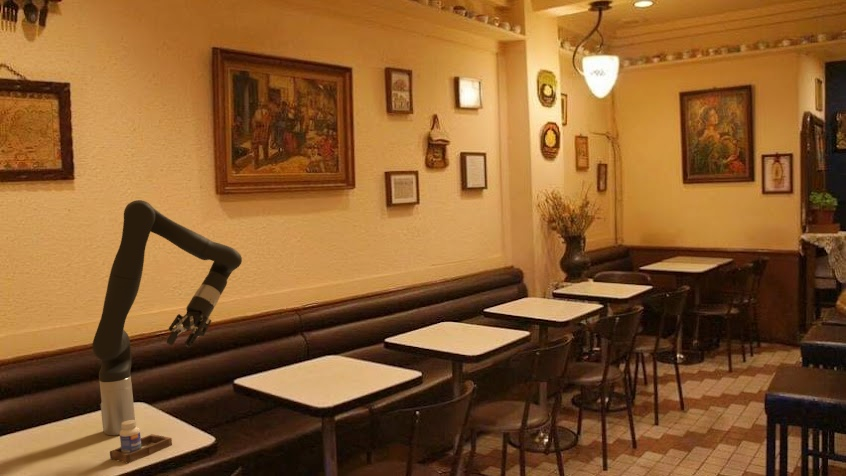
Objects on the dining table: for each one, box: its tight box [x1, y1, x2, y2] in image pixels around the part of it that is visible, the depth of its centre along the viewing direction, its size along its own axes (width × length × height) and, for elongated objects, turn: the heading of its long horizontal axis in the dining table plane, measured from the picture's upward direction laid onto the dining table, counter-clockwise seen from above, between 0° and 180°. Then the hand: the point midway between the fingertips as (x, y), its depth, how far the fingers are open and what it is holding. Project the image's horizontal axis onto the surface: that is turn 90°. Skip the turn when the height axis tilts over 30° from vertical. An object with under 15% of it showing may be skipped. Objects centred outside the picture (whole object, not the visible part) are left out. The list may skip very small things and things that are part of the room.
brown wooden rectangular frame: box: [109, 433, 173, 464], centre depth 205 cm, size 9×15×2 cm, turn 149°
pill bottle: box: [119, 419, 143, 454], centre depth 202 cm, size 5×5×10 cm
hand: (178, 345), depth 216 cm, fingers open, 8 cm apart
